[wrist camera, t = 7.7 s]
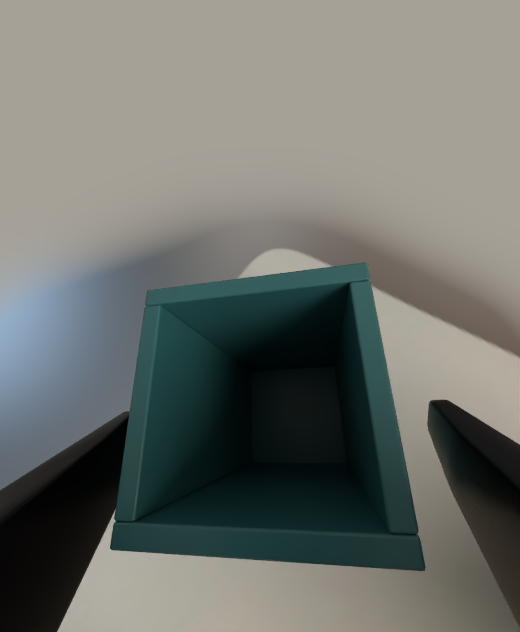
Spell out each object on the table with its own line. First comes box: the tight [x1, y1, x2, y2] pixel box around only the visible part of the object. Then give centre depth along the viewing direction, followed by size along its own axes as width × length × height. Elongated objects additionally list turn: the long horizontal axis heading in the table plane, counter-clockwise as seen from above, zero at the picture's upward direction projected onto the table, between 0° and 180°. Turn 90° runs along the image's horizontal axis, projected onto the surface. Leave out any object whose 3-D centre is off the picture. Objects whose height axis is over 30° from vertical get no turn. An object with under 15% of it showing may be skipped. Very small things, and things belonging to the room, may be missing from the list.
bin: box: [110, 263, 425, 571], centre depth 11 cm, size 6×6×11 cm
